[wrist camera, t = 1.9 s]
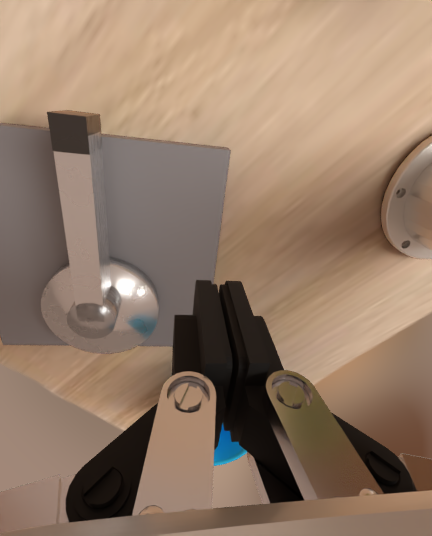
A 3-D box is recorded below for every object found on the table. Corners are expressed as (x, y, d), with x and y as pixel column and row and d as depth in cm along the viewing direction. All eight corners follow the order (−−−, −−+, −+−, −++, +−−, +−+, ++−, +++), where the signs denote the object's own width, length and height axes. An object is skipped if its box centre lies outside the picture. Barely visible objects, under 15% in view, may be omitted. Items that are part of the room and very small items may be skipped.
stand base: (227, 147, 24) (231, 151, 22) (204, 337, 33) (205, 350, 31) (-59, 116, 21) (-82, 117, 19) (6, 334, 30) (-5, 349, 28)
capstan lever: (164, 120, 21) (159, 125, 17) (158, 343, 31) (154, 379, 27) (9, 101, 19) (-36, 102, 15) (56, 342, 29) (36, 380, 25)
